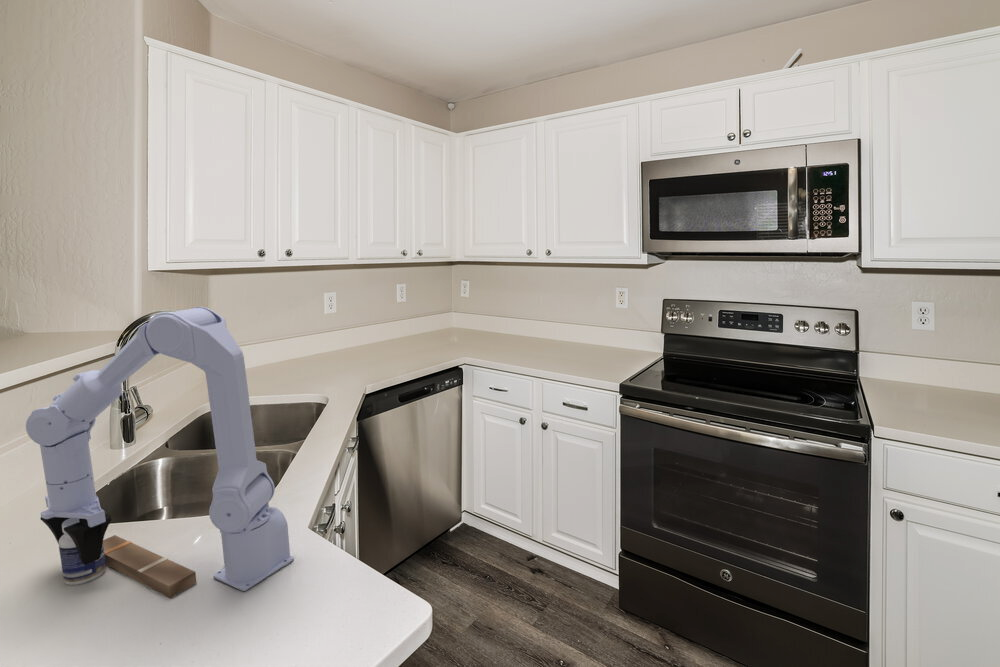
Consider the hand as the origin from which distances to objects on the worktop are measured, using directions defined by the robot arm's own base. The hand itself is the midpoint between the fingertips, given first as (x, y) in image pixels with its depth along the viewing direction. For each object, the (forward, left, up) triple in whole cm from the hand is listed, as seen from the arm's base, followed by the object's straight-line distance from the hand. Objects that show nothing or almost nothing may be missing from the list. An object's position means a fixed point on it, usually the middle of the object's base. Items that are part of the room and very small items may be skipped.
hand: (81, 556), depth 82 cm
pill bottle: (0, 0, -4) cm, 4 cm away
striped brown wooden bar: (-5, +7, -3) cm, 9 cm away
